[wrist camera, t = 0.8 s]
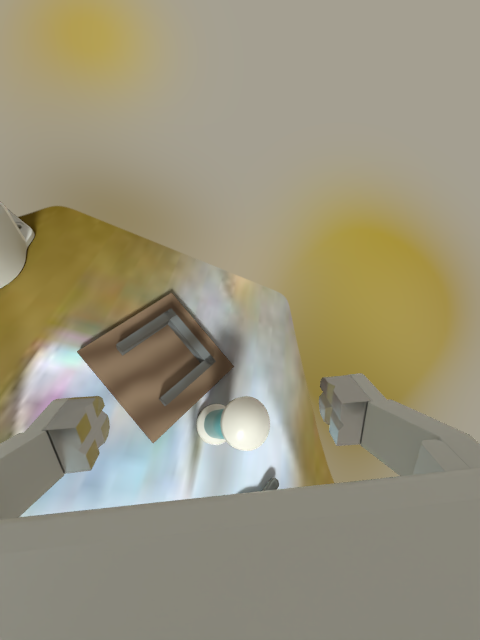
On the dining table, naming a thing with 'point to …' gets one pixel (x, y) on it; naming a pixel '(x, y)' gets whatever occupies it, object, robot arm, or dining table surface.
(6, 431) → the dining table surface
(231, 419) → the bobbin
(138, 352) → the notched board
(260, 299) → the dining table surface
